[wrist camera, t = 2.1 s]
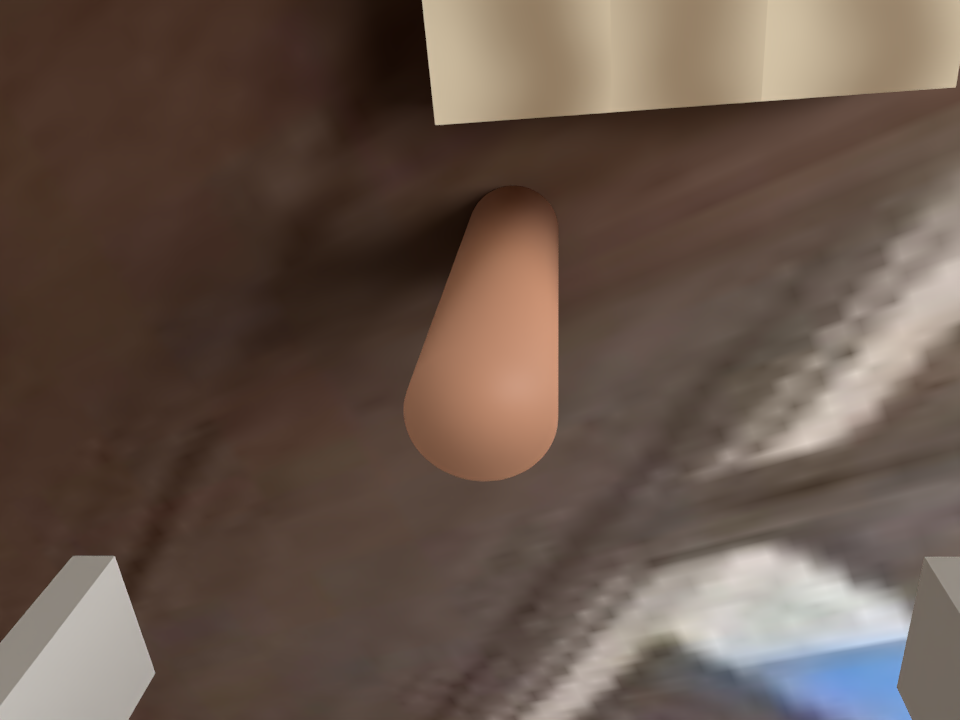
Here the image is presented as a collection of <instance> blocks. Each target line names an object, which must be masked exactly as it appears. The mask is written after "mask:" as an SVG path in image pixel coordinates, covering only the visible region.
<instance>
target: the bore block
mask: <svg viewBox="0 0 960 720" xmlns="http://www.w3.org/2000/svg"><path fill="white" fill-rule="evenodd" d="M422 6H423V15H424V25H425V34H426V44H427V53H428V62H429V72H430V81H431V91H432V100H433V110H434V119H435V125H445V124H459V123H473V122H487V121H500V120H514V119H528V118H541V117H555V116H569V115H582V114H596V113H610V112H624V111H637V110H651V109H665V108H678V107H692V106H706V105H719V104H733V103H747V102H761V101H774V100H788V99H802V98H815V97H829V96H843V95H856V94H870V93H884V92H898V91H911V90H925V89H939V88H952V87H956V83H957V76H958V70H959V64H960V0H422Z"/></svg>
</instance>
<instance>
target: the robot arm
mask: <svg viewBox="0 0 960 720" xmlns="http://www.w3.org/2000/svg"><path fill="white" fill-rule="evenodd" d="M154 674H155V671H154V668H153V665H152V662H151V659H150V657H149V654H148V651H147V648H146V645H145V642H144V639H143V636H142V633H141V631H140V628H139V625H138V622H137V619H136V616H135V613H134V610H133V607H132V605H131V602H130V599H129V596H128V593H127V590H126V587H125V584H124V581H123V579H122V576H121V573H120V570H119V567H118V564H117V561H116V558H115V556H72V558H71V559H70V560H69V561H68V562H67V564H66V565H65V566H64V567H63V568H62V570H61V571H60V572H59V573H58V574H57V576H56V577H55V578H54V579H53V580H52V582H51V583H50V584H49V585H48V586H47V588H46V589H45V590H44V591H43V592H42V594H41V595H40V596H39V597H38V598H37V600H36V601H35V602H34V603H33V604H32V605H31V607H30V608H29V609H28V610H27V611H26V613H25V614H24V615H23V616H22V617H21V619H20V620H19V621H18V622H17V623H16V625H15V626H14V627H13V628H12V629H11V631H10V632H9V633H8V634H7V635H6V637H5V638H4V639H3V640H2V641H1V643H0V720H128V719H129V717H130V716H131V714H132V712H133V711H134V709H135V707H136V705H137V704H138V702H139V700H140V698H141V697H142V695H143V693H144V692H145V690H146V688H147V686H148V685H149V683H150V681H151V679H152V678H153V676H154ZM897 688H898V691H899V693H900V695H901V697H902V699H903V701H904V703H905V705H906V708H907V710H908V712H909V714H910V716H911V718H912V720H960V557H924V562H923V566H922V571H921V576H920V581H919V585H918V590H917V595H916V599H915V604H914V609H913V614H912V618H911V623H910V628H909V632H908V637H907V642H906V647H905V651H904V656H903V661H902V665H901V670H900V675H899V680H898V684H897Z"/></svg>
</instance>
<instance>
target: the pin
mask: <svg viewBox="0 0 960 720" xmlns="http://www.w3.org/2000/svg"><path fill="white" fill-rule="evenodd" d="M404 420H405V425H406V429H407V431H408V434H409V436H410V438H411V440H412V442H413V444H414V445H415V447H416V448H417V449H418V451H419V452H420V453H421V454H422V455H423V456H424V457H425V458H426V459H427V460H428V461H429V462H431V463H432V464H433V465H435V466H436V467H438V468H439V469H441V470H443V471H445V472H447V473H449V474H451V475H454V476H456V477H460V478H463V479H467V480H474V481H496V480H501V479H506V478H509V477H513V476H515V475H518V474H520V473H522V472H524V471H526V470H527V469H529V468H531V467H532V466H533V465H534V464H536V463H537V462H538V461H539V460H540V459H541V458H542V457H543V456H544V455H545V453H546V452H547V451H548V449H549V448H550V446H551V444H552V442H553V440H554V437H555V434H556V431H557V425H558V221H557V217H556V214H555V212H554V210H553V208H552V206H551V205H550V204H549V202H548V201H547V200H546V199H545V198H544V197H543V196H542V195H540V194H539V193H537V192H535V191H534V190H531V189H529V188H526V187H521V186H505V187H501V188H498V189H495V190H493V191H491V192H490V193H488V194H487V195H485V196H484V197H483V198H482V199H481V200H480V201H479V202H478V203H477V205H476V206H475V208H474V210H473V212H472V214H471V217H470V220H469V223H468V225H467V228H466V231H465V233H464V236H463V239H462V242H461V244H460V247H459V250H458V253H457V255H456V258H455V261H454V264H453V266H452V269H451V272H450V274H449V277H448V280H447V283H446V285H445V288H444V291H443V294H442V296H441V299H440V302H439V305H438V307H437V310H436V313H435V315H434V318H433V321H432V324H431V326H430V329H429V332H428V335H427V337H426V340H425V343H424V346H423V348H422V351H421V354H420V356H419V359H418V362H417V365H416V367H415V370H414V373H413V376H412V378H411V381H410V384H409V387H408V389H407V392H406V396H405V400H404Z"/></svg>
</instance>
